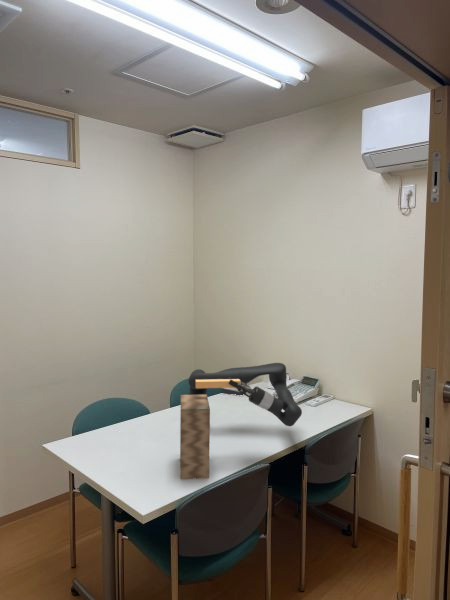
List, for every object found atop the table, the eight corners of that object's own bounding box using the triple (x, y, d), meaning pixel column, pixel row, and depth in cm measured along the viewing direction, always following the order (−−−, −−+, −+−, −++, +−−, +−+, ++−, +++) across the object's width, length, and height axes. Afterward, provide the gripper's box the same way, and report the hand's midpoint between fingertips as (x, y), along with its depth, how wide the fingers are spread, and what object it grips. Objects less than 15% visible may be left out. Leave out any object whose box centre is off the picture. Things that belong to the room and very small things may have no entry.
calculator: (241, 391, 302) (222, 387, 309) (241, 397, 303) (221, 393, 309) (248, 387, 312) (228, 383, 319) (247, 393, 313) (228, 389, 319)
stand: (180, 479, 187) (181, 409, 184) (180, 458, 206) (180, 394, 204) (209, 478, 188) (209, 408, 185) (206, 457, 208) (206, 394, 205)
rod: (195, 388, 197) (195, 381, 197) (195, 386, 201) (195, 379, 201) (240, 387, 200) (240, 381, 199) (239, 385, 203) (239, 378, 203)
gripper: (262, 386, 210) (231, 369, 207) (268, 395, 196) (235, 377, 193) (254, 400, 210) (223, 383, 208) (259, 410, 196) (226, 392, 194)
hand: (229, 380), depth 200 cm, fingers closed on rod, 3 cm apart
